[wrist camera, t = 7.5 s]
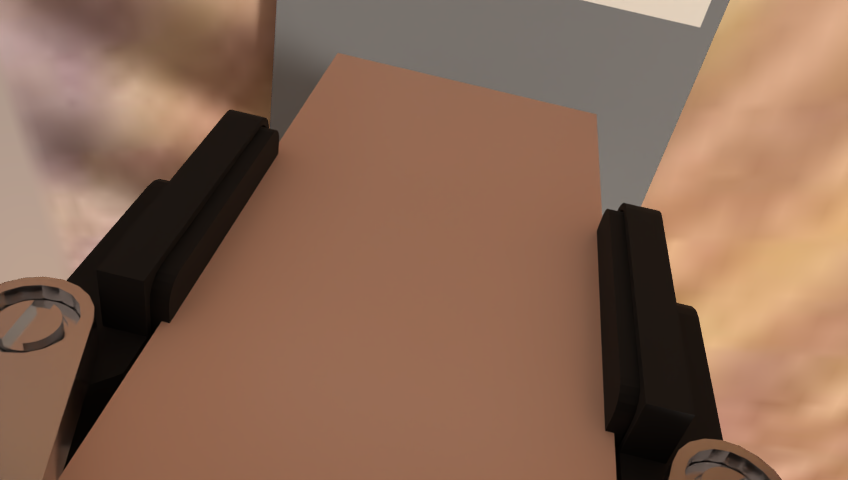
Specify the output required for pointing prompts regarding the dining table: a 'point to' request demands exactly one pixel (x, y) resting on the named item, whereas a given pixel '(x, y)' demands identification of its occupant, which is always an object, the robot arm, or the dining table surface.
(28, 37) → the dining table surface
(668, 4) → the domino
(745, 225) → the dining table surface
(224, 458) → the domino
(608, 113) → the mat
